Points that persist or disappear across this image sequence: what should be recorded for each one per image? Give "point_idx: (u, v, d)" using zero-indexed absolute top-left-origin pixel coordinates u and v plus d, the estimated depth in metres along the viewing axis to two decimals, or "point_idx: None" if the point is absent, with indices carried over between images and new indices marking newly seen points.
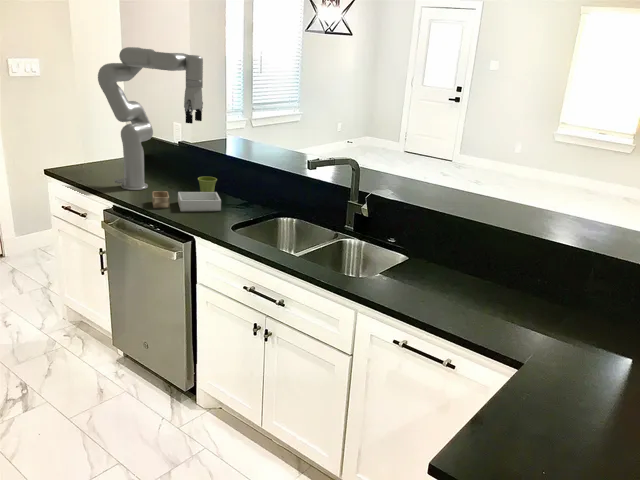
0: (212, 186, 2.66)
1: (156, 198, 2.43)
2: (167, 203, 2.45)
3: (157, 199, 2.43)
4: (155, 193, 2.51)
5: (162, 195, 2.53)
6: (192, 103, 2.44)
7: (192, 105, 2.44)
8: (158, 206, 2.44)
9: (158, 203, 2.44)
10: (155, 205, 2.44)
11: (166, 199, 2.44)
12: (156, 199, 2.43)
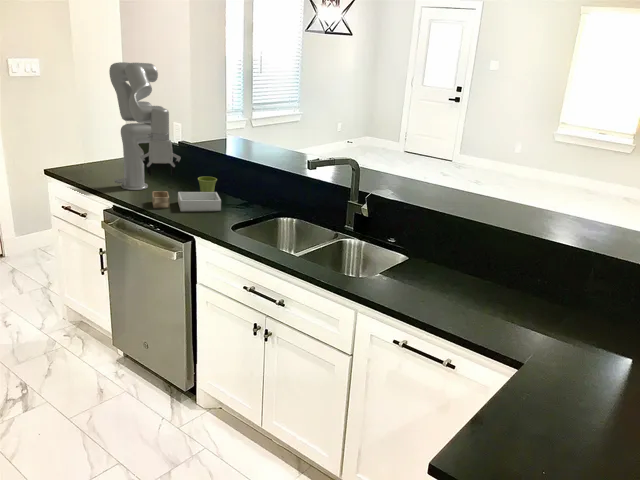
0: (212, 186, 2.66)
1: (156, 198, 2.43)
2: (167, 203, 2.45)
3: (157, 199, 2.43)
4: (155, 193, 2.51)
5: (162, 195, 2.53)
6: None
7: None
8: (158, 206, 2.44)
9: (158, 203, 2.44)
10: (155, 205, 2.44)
11: (166, 199, 2.44)
12: (156, 199, 2.43)
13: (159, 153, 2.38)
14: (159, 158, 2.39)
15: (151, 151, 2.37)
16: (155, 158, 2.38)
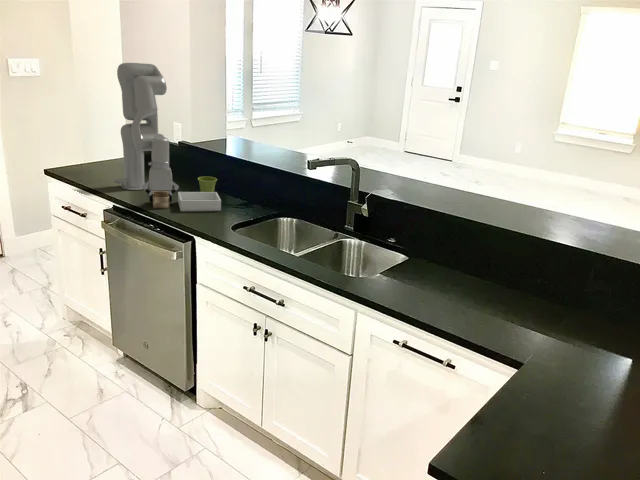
0: (212, 186, 2.66)
1: (156, 198, 2.43)
2: (167, 203, 2.45)
3: (157, 199, 2.43)
4: (155, 193, 2.51)
5: (162, 195, 2.53)
6: None
7: None
8: (158, 206, 2.44)
9: (158, 203, 2.44)
10: (155, 205, 2.44)
11: (166, 199, 2.44)
12: (156, 199, 2.43)
13: (159, 181, 2.43)
14: (159, 186, 2.44)
15: (151, 179, 2.42)
16: (155, 186, 2.43)
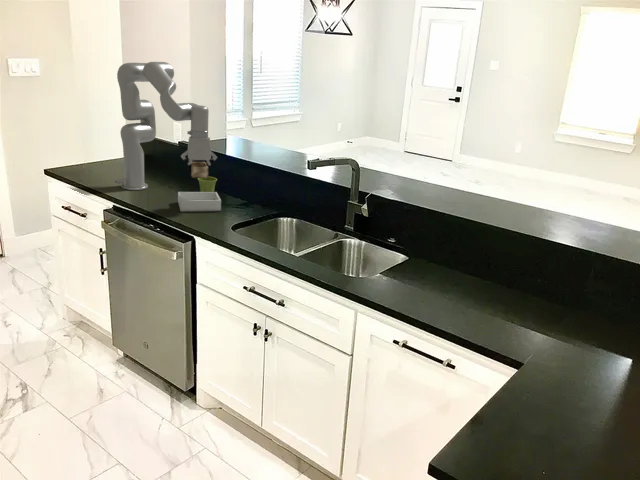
0: (212, 186, 2.66)
1: (195, 167, 2.41)
2: (206, 173, 2.43)
3: (196, 169, 2.41)
4: (193, 164, 2.49)
5: (200, 166, 2.50)
6: None
7: None
8: (197, 176, 2.42)
9: (197, 173, 2.42)
10: (194, 175, 2.42)
11: (205, 168, 2.42)
12: (195, 169, 2.41)
13: (198, 150, 2.41)
14: (198, 155, 2.41)
15: (190, 148, 2.39)
16: (194, 155, 2.41)
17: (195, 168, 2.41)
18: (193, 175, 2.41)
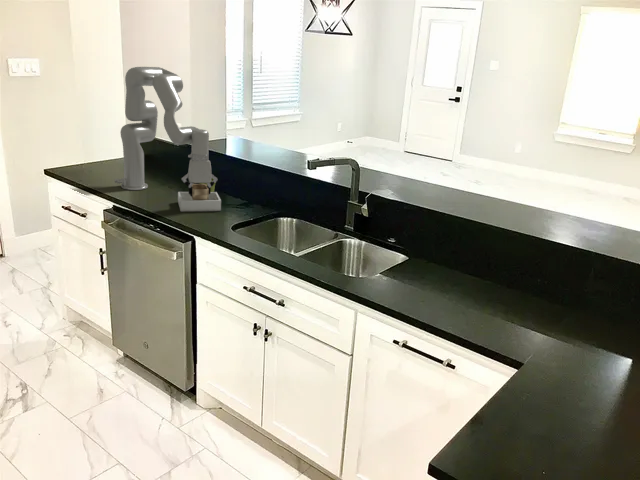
0: (212, 186, 2.66)
1: (196, 190, 2.44)
2: (206, 195, 2.47)
3: (197, 191, 2.44)
4: (194, 186, 2.53)
5: (200, 188, 2.54)
6: None
7: None
8: (198, 198, 2.46)
9: (198, 195, 2.45)
10: (195, 197, 2.45)
11: (205, 191, 2.46)
12: (196, 191, 2.44)
13: (199, 173, 2.44)
14: (199, 178, 2.45)
15: (191, 171, 2.43)
16: (195, 178, 2.44)
17: (196, 191, 2.44)
18: (194, 198, 2.45)
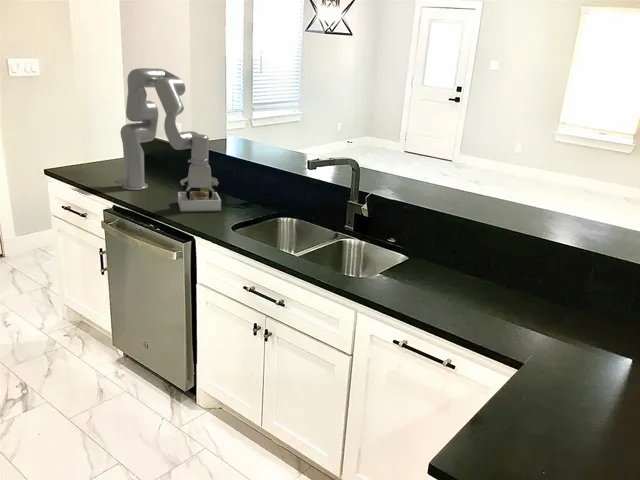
0: None
1: (195, 198, 2.46)
2: None
3: (196, 199, 2.46)
4: (193, 193, 2.54)
5: (200, 195, 2.55)
6: None
7: None
8: None
9: None
10: None
11: (205, 199, 2.47)
12: (195, 199, 2.46)
13: (198, 178, 2.45)
14: (199, 183, 2.46)
15: (191, 176, 2.44)
16: (194, 183, 2.45)
17: (195, 199, 2.46)
18: None
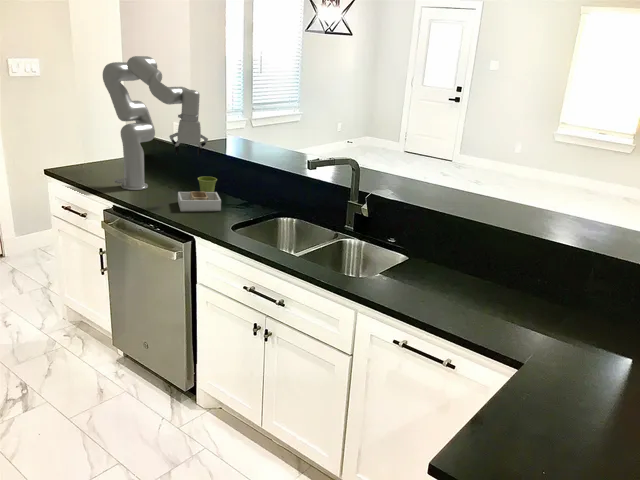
0: (212, 186, 2.66)
1: (195, 198, 2.46)
2: None
3: (196, 199, 2.46)
4: (193, 193, 2.54)
5: (200, 195, 2.55)
6: None
7: None
8: None
9: None
10: None
11: (205, 199, 2.47)
12: (195, 199, 2.46)
13: (188, 134, 2.45)
14: (188, 139, 2.46)
15: (180, 131, 2.44)
16: (184, 138, 2.46)
17: (195, 199, 2.46)
18: None
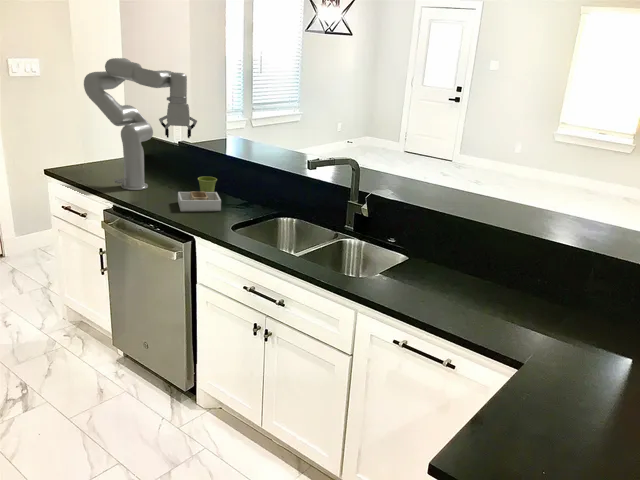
0: (212, 186, 2.66)
1: (195, 198, 2.46)
2: None
3: (196, 199, 2.46)
4: (193, 193, 2.54)
5: (200, 195, 2.55)
6: None
7: None
8: None
9: None
10: None
11: (205, 199, 2.47)
12: (195, 199, 2.46)
13: (177, 116, 2.51)
14: (177, 121, 2.51)
15: (169, 114, 2.49)
16: (173, 121, 2.51)
17: (195, 199, 2.46)
18: None
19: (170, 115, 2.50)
